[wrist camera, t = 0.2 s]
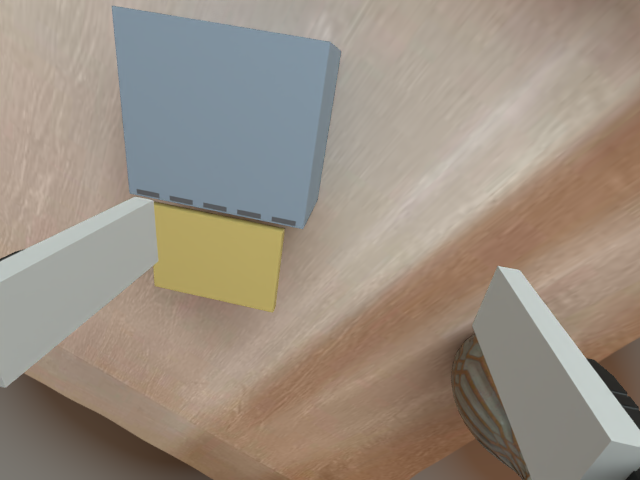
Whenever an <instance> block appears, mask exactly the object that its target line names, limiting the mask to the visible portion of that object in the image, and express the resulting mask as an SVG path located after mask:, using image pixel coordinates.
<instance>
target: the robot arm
mask: <svg viewBox="0 0 640 480" xmlns="http://www.w3.org/2000/svg"><path fill="white" fill-rule="evenodd" d="M157 262H158V250H157V238H156V226H155V214H154V201H153V200H150V199H145V198H139V197H133V198H131V199H129V200H127V201H125V202H123V203H121V204H119V205H116V206H114V207H112V208H110V209H108V210H106V211H104V212H102V213H100V214H98V215H96V216H94V217H91V218H89V219H87V220H85V221H83V222H81V223H79V224H77V225H75V226H73V227H71V228H69V229H66V230H64V231H62V232H60V233H58V234H56V235H54V236H52V237H50V238H48V239H46V240H44V241H41V242H39V243H37V244H35V245H33V246H31V247H29V248H27V249H24V250H20V251H17V252H14V253H12V254H10V255H8V256H6V257H3V258H1V259H0V386H1V387H5V388H6V387H7V386H8V385H9V384H11V383H12V382H13V381H14V380H16V379H17V378H18V377H19V376H20V375H22V374H23V373H24V372H25V371H26V370H28V369H29V368H30V367H31V366H32V365H34V364H35V363H36V362H37V361H38V360H40V359H41V358H42V357H43V356H45V355H46V354H47V353H48V352H49V351H51V350H52V349H53V348H54V347H55V346H57V345H58V344H59V343H60V342H61V341H63V340H64V339H65V338H66V337H68V336H69V335H70V334H71V333H72V332H74V331H75V330H76V329H77V328H78V327H80V326H81V325H82V324H83V323H84V322H86V321H87V320H88V319H89V318H90V317H92V316H93V315H94V314H95V313H97V312H98V311H99V310H100V309H101V308H103V307H104V306H105V305H106V304H107V303H109V302H110V301H111V300H112V299H113V298H115V297H116V296H117V295H118V294H119V293H121V292H122V291H123V290H124V289H126V288H127V287H128V286H129V285H130V284H132V283H133V282H134V281H135V280H136V279H138V278H139V277H140V276H141V275H142V274H144V273H145V272H146V271H147V270H149V269H150V268H151V267H152V266H153V265H155V264H156V263H157ZM472 327H473V329H474V332H475V334H476V337H477V339H478V342H479V345H480V347H481V350H482V352H483V355H484V357H485V360H486V363H487V365H488V368H489V370H490V373H491V375H492V378H493V381H494V383H495V386H496V388H497V391H498V394H499V396H500V399H501V401H502V404H503V406H504V409H505V412H506V414H507V417H508V419H509V422H510V424H511V427H512V430H513V432H514V435H515V437H516V440H517V443H518V445H519V448H520V450H521V453H522V455H523V458H524V461H525V463H526V466H527V468H528V471H529V473H530V476H531V479H532V480H640V411H639V408H638V406H637V405H636V404H635V402H634V401H633V400H632V399H631V397H629V396H627V392H626V391H625V390H624V389H623V387H622V386H621V385H620V384H619V383H618V381H617V380H616V379H615V377H614V376H613V375H612V374H610V373H609V372H608V371H607V370H606V369H604V368H603V367H602V366H601V365H600V364H598V363H597V362H596V361H595V360H592V359H587V358H585V357H584V355H583V354H582V353H581V351H580V350H579V349H578V347H577V346H576V345H575V343H574V342H573V341H572V339H571V338H570V337H569V335H568V334H567V333H566V331H565V330H564V329H563V327H562V326H561V325H560V323H559V322H558V321H557V319H556V318H555V317H554V315H553V314H552V313H551V311H550V310H549V309H548V307H547V306H546V305H545V303H544V302H543V301H542V299H541V298H540V297H539V295H538V294H537V293H536V291H535V290H534V289H533V287H532V286H531V285H530V283H529V282H528V281H527V279H526V278H525V277H524V275H523V274H522V273H521V271H520V270H516V269H511V268H506V267H501V266H497V269H496V271H495V273H494V276H493V278H492V280H491V283H490V285H489V287H488V290H487V292H486V294H485V297H484V299H483V301H482V304H481V306H480V309H479V311H478V313H477V316H476V318H475V320H474V323H473V325H472Z"/></svg>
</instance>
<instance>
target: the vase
mask: <svg viewBox="0 0 640 480" xmlns="http://www.w3.org/2000/svg"><path fill="white" fill-rule="evenodd" d="M451 384H452V390H453V395H454V399H455V402H456V405H457V408H458V411H459V413H460V415H461V417H462V419H463V421H464V423H465V424H466V426H467V427H468V429H469V430H470V432H471V433H472V434H473V436H474V437H475V438H476V439H477V440H478V441H479V443H480V444H481V445H482V446H483V447H484V448H485V449H487V450H488V451H489V452H490V453H491V454H492V455H494V456H495V457H496V458H497V459H499V460H500V461H501V462H502V463H504V464H505V465H507V466H508V467H510V468H511V469H512V470H514V471H515V472H516V473H517V474H518V475H519V476H520V477H521V478H522V480H532V479H531V476H530V473H529V471H528V468H527V466H526V463H525V461H524V458H523V455H522V453H521V450H520V448H519V445H518V443H517V440H516V437H515V435H514V432H513V430H512V427H511V424H510V422H509V419H508V417H507V414H506V412H505V409H504V406H503V404H502V401H501V399H500V396H499V394H498V391H497V388H496V386H495V383H494V381H493V378H492V375H491V373H490V370H489V368H488V365H487V363H486V360H485V357H484V355H483V352H482V350H481V347H480V345H479V342H478V339H477V337H476V334H475V335H473V336H471V337H470V338H469V339H467V340H466V341H465V342H464V343H463V344H462V346H461V347H460V349H459V350H458V352H457V354H456V356H455V358H454V362H453V365H452V372H451Z"/></svg>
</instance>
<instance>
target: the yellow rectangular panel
mask: <svg viewBox="0 0 640 480" xmlns="http://www.w3.org/2000/svg"><path fill="white" fill-rule="evenodd" d="M154 214H155V226H156V238H157V250H158V262H157V263H156V264H155V265H153V269H154V283H155V286H157V287H161V288H166V289H170V290H175V291H179V292H184V293H188V294H192V295H197V296H201V297H206V298H210V299H215V300H219V301H224V302H228V303H233V304H237V305H242V306H246V307H251V308H255V309H259V310H264V311H268V312H273V311H274V309H275V306H276V298H277V289H278V281H279V272H280V264H281V256H282V247H283V239H284V231H285V228H280V227H276V226H271V225H266V224H261V223H256V222H251V221H247V220H242V219H237V218H232V217H227V216H222V215H217V214H213V213H208V212H203V211H198V210H193V209H188V208H183V207H179V206H174V205H169V204H164V203H159V202H154Z"/></svg>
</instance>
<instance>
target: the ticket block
mask: <svg viewBox="0 0 640 480" xmlns="http://www.w3.org/2000/svg"><path fill="white" fill-rule="evenodd" d="M112 14H113V24H114V34H115V45H116V55H117V66H118V76H119V87H120V97H121V107H122V118H123V128H124V139H125V149H126V160H127V170H128V181H129V191H130V194H135V195H140V196H145V197H150V198H154V199H159V200H164V201H169V202H174V203H179V204H184V205H188V206H193V207H198V208H203V209H208V210H213V211H218V212H223V213H227V214H232V215H237V216H242V217H247V218H252V219H257V220H262V221H266V222H271V223H276V224H281V225H286V226H291V227H296V228H300V229H303V228H304V226H305V224H306V222H307V220H308V218H309V216H310V214H311V212H312V210H313V208H314V206H315V204H316V202H317V200H318V194H319V187H320V181H321V175H322V169H323V162H324V156H325V150H326V144H327V137H328V131H329V125H330V118H331V112H332V106H333V100H334V93H335V87H336V81H337V75H338V68H339V62H340V56H341V51H340V50H339V49H338V48H337V47H336V46H335V45H333V44H332V43H331V42H328V41H322V40H316V39H310V38H304V37H298V36H292V35H286V34H280V33H274V32H268V31H262V30H256V29H250V28H244V27H237V26H231V25H225V24H219V23H213V22H207V21H201V20H195V19H189V18H183V17H177V16H171V15H165V14H159V13H153V12H147V11H141V10H135V9H129V8H123V7H117V6H112Z"/></svg>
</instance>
